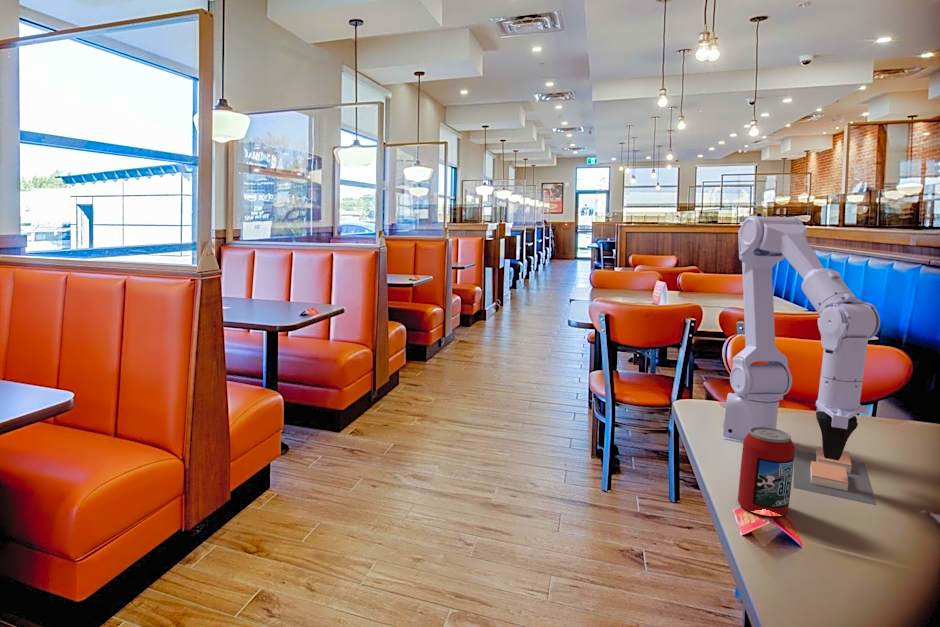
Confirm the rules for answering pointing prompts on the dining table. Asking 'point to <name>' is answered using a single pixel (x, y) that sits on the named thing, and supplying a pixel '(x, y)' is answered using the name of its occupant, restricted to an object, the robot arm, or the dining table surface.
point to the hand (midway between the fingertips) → (831, 458)
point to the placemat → (856, 487)
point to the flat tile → (842, 462)
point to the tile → (829, 475)
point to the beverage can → (766, 470)
